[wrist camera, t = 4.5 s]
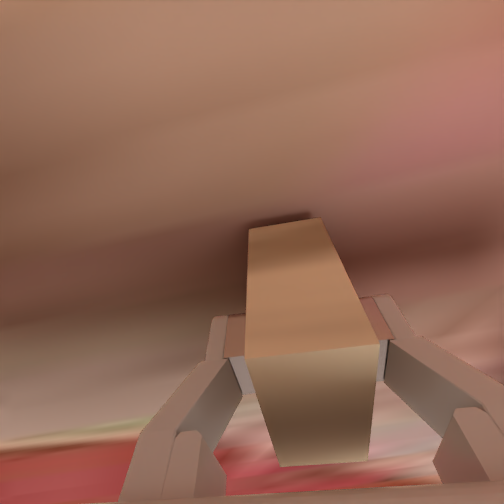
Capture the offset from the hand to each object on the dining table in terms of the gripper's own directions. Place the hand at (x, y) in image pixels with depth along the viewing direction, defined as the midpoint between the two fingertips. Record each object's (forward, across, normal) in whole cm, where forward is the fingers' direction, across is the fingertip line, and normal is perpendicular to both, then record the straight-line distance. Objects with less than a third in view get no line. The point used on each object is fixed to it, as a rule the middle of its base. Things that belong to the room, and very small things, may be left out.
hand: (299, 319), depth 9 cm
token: (+2, 0, 0) cm, 2 cm away
